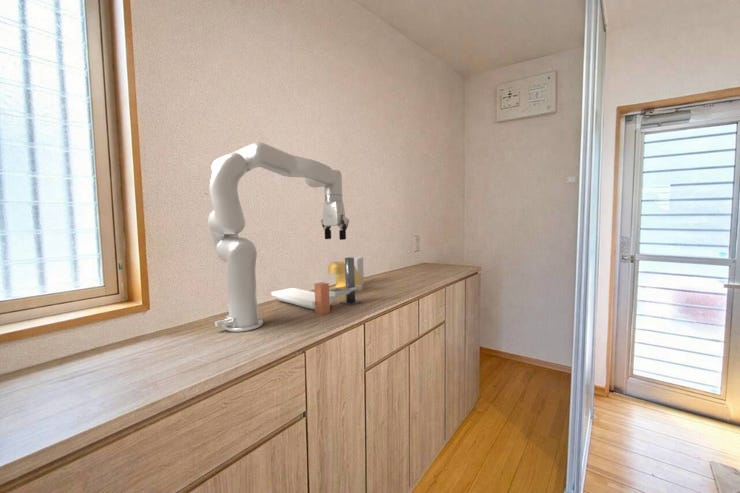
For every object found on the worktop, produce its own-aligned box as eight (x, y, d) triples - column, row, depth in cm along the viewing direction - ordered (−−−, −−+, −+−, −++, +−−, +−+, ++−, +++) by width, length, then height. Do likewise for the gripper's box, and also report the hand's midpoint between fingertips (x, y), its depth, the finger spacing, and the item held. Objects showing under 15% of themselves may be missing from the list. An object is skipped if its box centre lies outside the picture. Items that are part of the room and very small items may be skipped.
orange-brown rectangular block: (322, 315, 131) (320, 284, 130) (315, 313, 134) (314, 283, 133) (329, 313, 134) (328, 283, 133) (323, 311, 137) (322, 282, 136)
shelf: (293, 298, 162) (292, 287, 161) (334, 308, 141) (334, 296, 141) (271, 303, 153) (271, 292, 153) (312, 315, 133) (312, 301, 133)
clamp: (340, 297, 159) (339, 264, 158) (325, 296, 164) (323, 263, 163) (362, 289, 177) (361, 259, 175) (347, 287, 181) (346, 258, 180)
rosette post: (335, 310, 138) (334, 261, 136) (323, 307, 143) (321, 260, 141) (365, 302, 150) (363, 257, 148) (352, 299, 155) (351, 256, 153)
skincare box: (354, 283, 192) (353, 256, 191) (364, 284, 190) (363, 256, 188) (347, 286, 184) (346, 258, 183) (358, 287, 182) (357, 258, 181)
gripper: (314, 200, 148) (316, 239, 150) (340, 198, 136) (342, 240, 138) (327, 200, 154) (329, 238, 155) (354, 198, 142) (355, 239, 143)
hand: (335, 239), depth 147 cm, fingers open, 9 cm apart
